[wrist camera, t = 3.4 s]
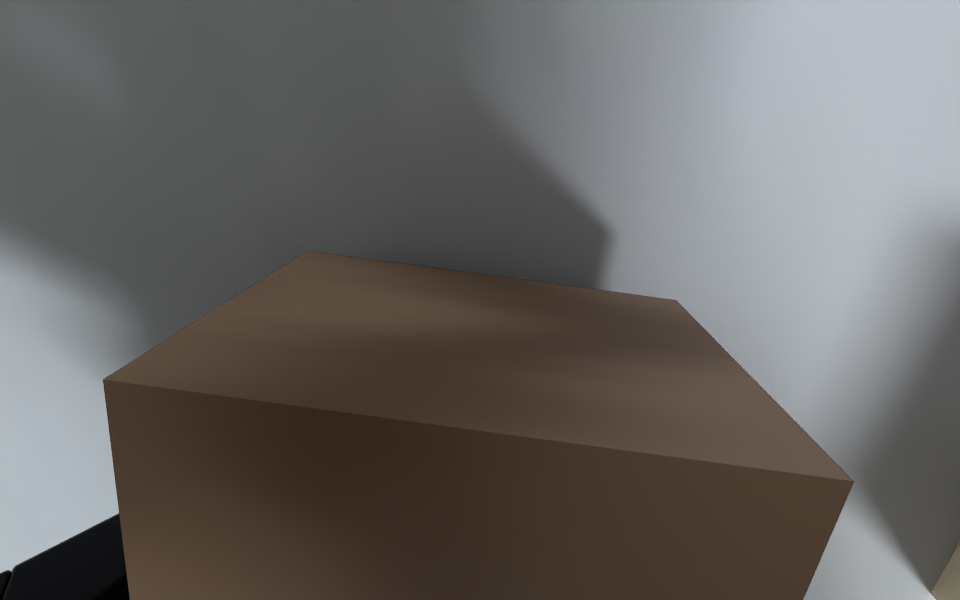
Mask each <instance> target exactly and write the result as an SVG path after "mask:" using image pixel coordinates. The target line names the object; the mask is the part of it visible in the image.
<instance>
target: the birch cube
mask: <svg viewBox="0 0 960 600" xmlns="http://www.w3.org/2000/svg"><path fill="white" fill-rule="evenodd" d="M931 594H932V596H933V597H934V598H935V599H936V600H960V543H959V545H958V546H957V548H956V550H955V551H954V553H953V555H952V557H951V558H950V560H949V562H948V563H947V565H946V567H945V569H944V570H943V572H942V574H941V576H940V577H939V579H938V581H937V582H936V584H935V586H934V588H933V589H932V591H931Z"/></svg>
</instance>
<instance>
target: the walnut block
mask: <svg viewBox="0 0 960 600" xmlns="http://www.w3.org/2000/svg"><path fill="white" fill-rule="evenodd" d="M103 383H104V392H105V400H106V408H107V416H108V424H109V433H110V441H111V449H112V457H113V466H114V474H115V482H116V490H117V498H118V507H119V515H120V523H121V531H122V539H123V548H124V556H125V564H126V572H127V581H128V589H129V597H130V600H803V599H804V596H805V594H806V592H807V589H808V587H809V585H810V582H811V580H812V578H813V575H814V573H815V571H816V568H817V566H818V564H819V562H820V559H821V557H822V555H823V552H824V550H825V548H826V545H827V543H828V541H829V538H830V536H831V534H832V531H833V529H834V527H835V524H836V522H837V520H838V518H839V515H840V513H841V511H842V508H843V506H844V504H845V501H846V499H847V497H848V494H849V492H850V490H851V487H852V485H853V483H854V481H853V480H852V479H851V478H850V477H849V476H848V475H847V474H846V473H845V472H844V471H843V470H842V468H841V467H840V466H839V465H838V464H837V463H836V462H835V461H834V460H833V459H832V458H831V457H830V456H829V455H828V454H827V453H826V452H825V451H824V450H823V449H822V448H821V447H820V446H819V445H818V444H817V443H816V442H815V441H814V440H813V439H812V438H811V437H810V436H809V435H808V434H807V433H806V432H805V431H804V430H803V429H802V428H801V427H800V426H799V425H798V424H797V423H796V422H795V421H794V420H793V419H792V418H791V417H790V416H789V415H788V414H787V413H786V412H785V411H784V409H783V408H782V407H781V406H780V405H779V404H778V403H777V402H776V401H775V400H774V399H773V398H772V397H771V396H770V395H769V394H768V393H767V392H766V391H765V390H764V389H763V388H762V387H761V386H760V385H759V384H758V383H757V382H756V381H755V380H754V379H753V378H752V377H751V376H750V375H749V374H748V373H747V372H746V371H745V370H744V369H743V368H742V367H741V366H740V365H739V364H738V363H737V362H736V361H735V360H734V359H733V358H732V357H731V356H730V355H729V354H728V353H727V352H726V351H725V349H724V348H723V347H722V346H721V345H720V344H719V343H718V342H717V341H716V340H715V339H714V338H713V337H712V336H711V335H710V334H709V333H708V332H707V331H706V330H705V329H704V328H703V327H702V326H701V325H700V324H699V323H698V322H697V321H696V320H695V319H694V318H693V317H692V316H691V315H690V314H689V313H688V312H687V311H686V310H685V309H684V308H683V307H682V306H681V305H680V304H679V303H678V302H677V301H676V300H671V299H663V298H656V297H648V296H641V295H634V294H626V293H619V292H611V291H604V290H596V289H589V288H581V287H574V286H567V285H559V284H552V283H544V282H537V281H529V280H522V279H515V278H507V277H500V276H492V275H485V274H477V273H470V272H462V271H455V270H448V269H440V268H433V267H425V266H418V265H410V264H403V263H395V262H388V261H381V260H373V259H366V258H358V257H351V256H343V255H336V254H328V253H321V252H314V251H307V252H305V253H303V254H302V255H300V256H299V257H297V258H295V259H294V260H292V261H291V262H289V263H287V264H286V265H284V266H283V267H281V268H280V269H278V270H276V271H275V272H273V273H272V274H270V275H268V276H267V277H265V278H264V279H262V280H260V281H259V282H257V283H256V284H254V285H253V286H251V287H249V288H248V289H246V290H245V291H243V292H241V293H240V294H238V295H237V296H235V297H233V298H232V299H230V300H229V301H227V302H225V303H224V304H222V305H221V306H219V307H218V308H216V309H214V310H213V311H211V312H210V313H208V314H206V315H205V316H203V317H202V318H200V319H198V320H197V321H195V322H194V323H192V324H191V325H189V326H187V327H186V328H184V329H183V330H181V331H179V332H178V333H176V334H175V335H173V336H171V337H170V338H168V339H167V340H165V341H164V342H162V343H160V344H159V345H157V346H156V347H154V348H152V349H151V350H149V351H148V352H146V353H144V354H143V355H141V356H140V357H138V358H136V359H135V360H133V361H132V362H130V363H129V364H127V365H125V366H124V367H122V368H121V369H119V370H117V371H116V372H114V373H113V374H111V375H109V376H108V377H106V378H105V379H103Z"/></svg>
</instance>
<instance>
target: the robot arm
mask: <svg viewBox="0 0 960 600" xmlns="http://www.w3.org/2000/svg"><path fill="white" fill-rule="evenodd" d="M0 600H130V597H129V589H128V581H127V572H126V564H125V556H124V548H123V539H122V531H121V523H120V515H119V514H117V515H115V516H113V517H111V518H109V519H107V520H105V521H103V522H101V523H99V524H97V525H95V526H93V527H91V528H89V529H87V530H85V531H83V532H81V533H79V534H77V535H75V536H73V537H71V538H69V539H68V540H66V541H64V542H62V543H60V544H58V545H56V546H54V547H52V548H50V549H48V550H46V551H44V552H42V553H40V554H38V555H36V556H34V557H32V558H30V559H28V560H26V561H24V562H22V563H20V564H18V565H16V566H15V567H14V568H13V570H12V572H11V571H9V570H7V571H4V572H2V573H0Z"/></svg>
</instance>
